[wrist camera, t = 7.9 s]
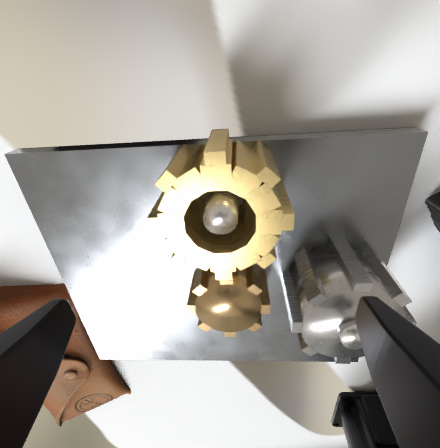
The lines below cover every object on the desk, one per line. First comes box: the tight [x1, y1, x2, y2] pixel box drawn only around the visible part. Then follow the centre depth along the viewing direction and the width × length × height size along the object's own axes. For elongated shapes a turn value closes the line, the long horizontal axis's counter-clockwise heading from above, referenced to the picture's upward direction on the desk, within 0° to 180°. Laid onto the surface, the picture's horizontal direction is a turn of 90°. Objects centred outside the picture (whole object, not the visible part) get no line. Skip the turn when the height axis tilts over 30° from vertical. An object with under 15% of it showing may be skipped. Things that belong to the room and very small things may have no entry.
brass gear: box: [147, 129, 295, 280], centre depth 15 cm, size 7×7×4 cm
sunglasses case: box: [0, 283, 131, 426], centre depth 27 cm, size 18×7×7 cm, turn 9°
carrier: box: [5, 127, 428, 364], centre depth 19 cm, size 20×24×6 cm
